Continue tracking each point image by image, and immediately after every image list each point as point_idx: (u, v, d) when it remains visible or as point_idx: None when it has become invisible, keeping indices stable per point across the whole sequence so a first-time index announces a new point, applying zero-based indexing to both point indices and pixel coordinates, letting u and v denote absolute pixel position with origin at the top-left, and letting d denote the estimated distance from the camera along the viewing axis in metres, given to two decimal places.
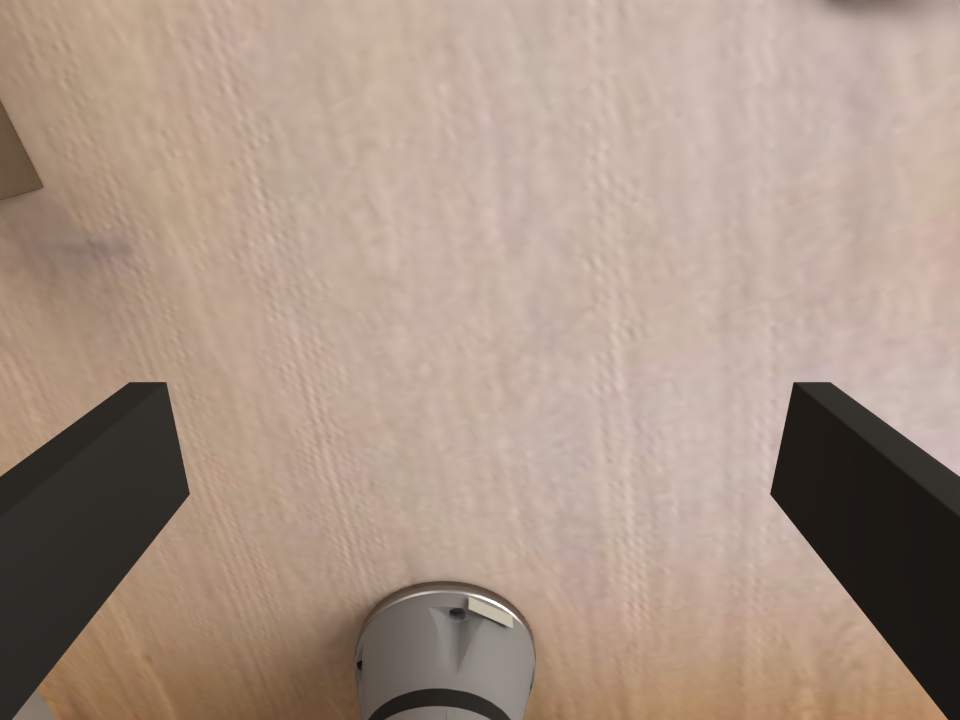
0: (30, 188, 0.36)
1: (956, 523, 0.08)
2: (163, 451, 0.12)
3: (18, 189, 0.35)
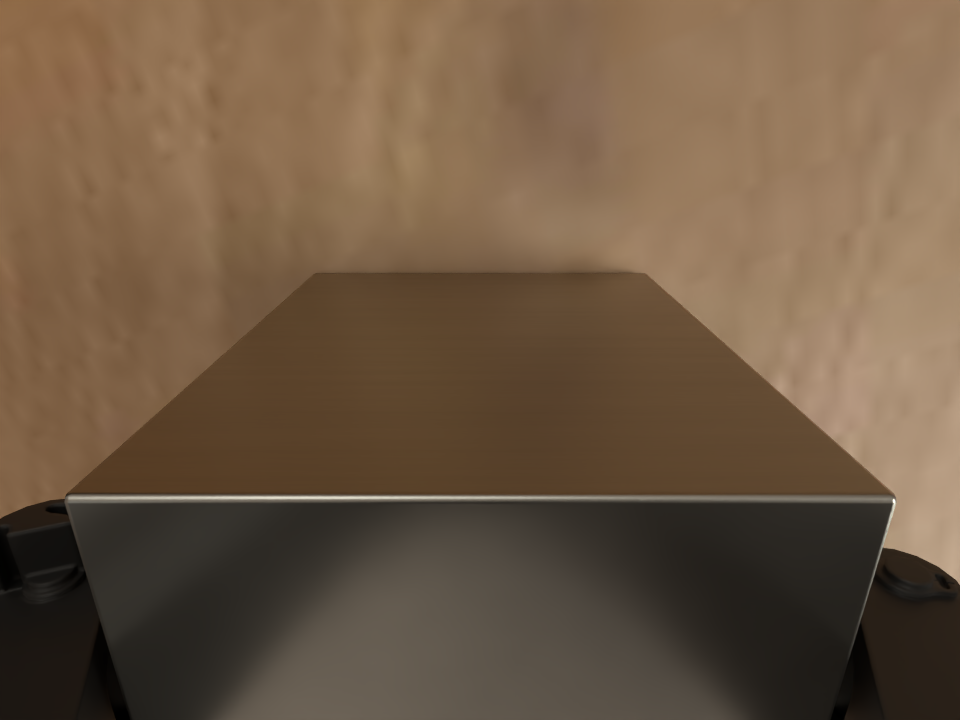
0: None
1: None
2: None
3: None
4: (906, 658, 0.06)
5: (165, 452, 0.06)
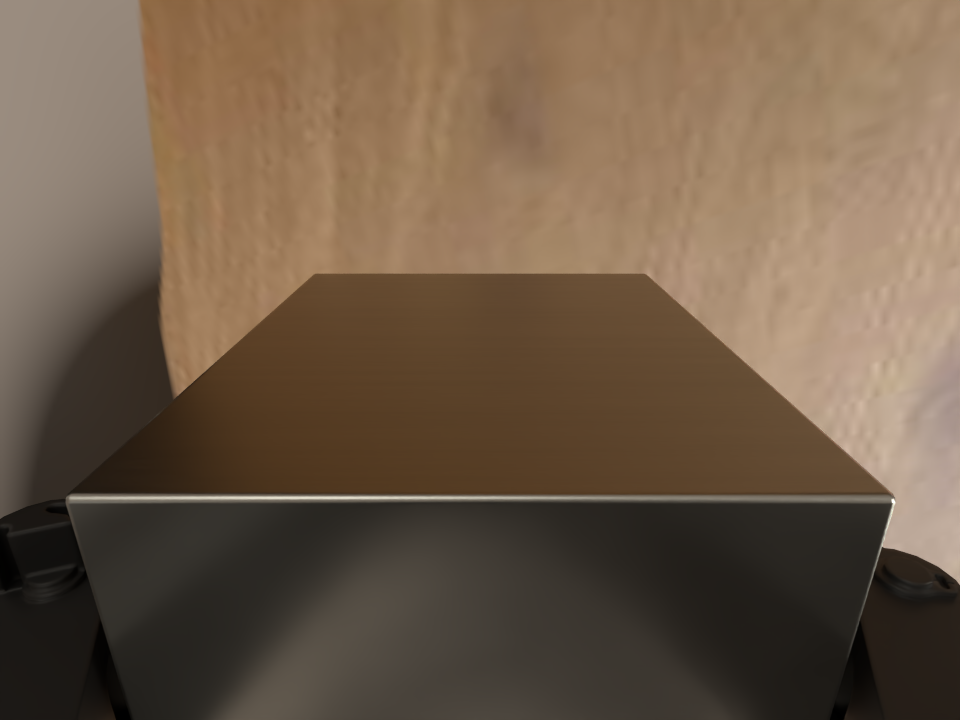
0: None
1: None
2: None
3: None
4: (905, 658, 0.06)
5: (166, 452, 0.06)
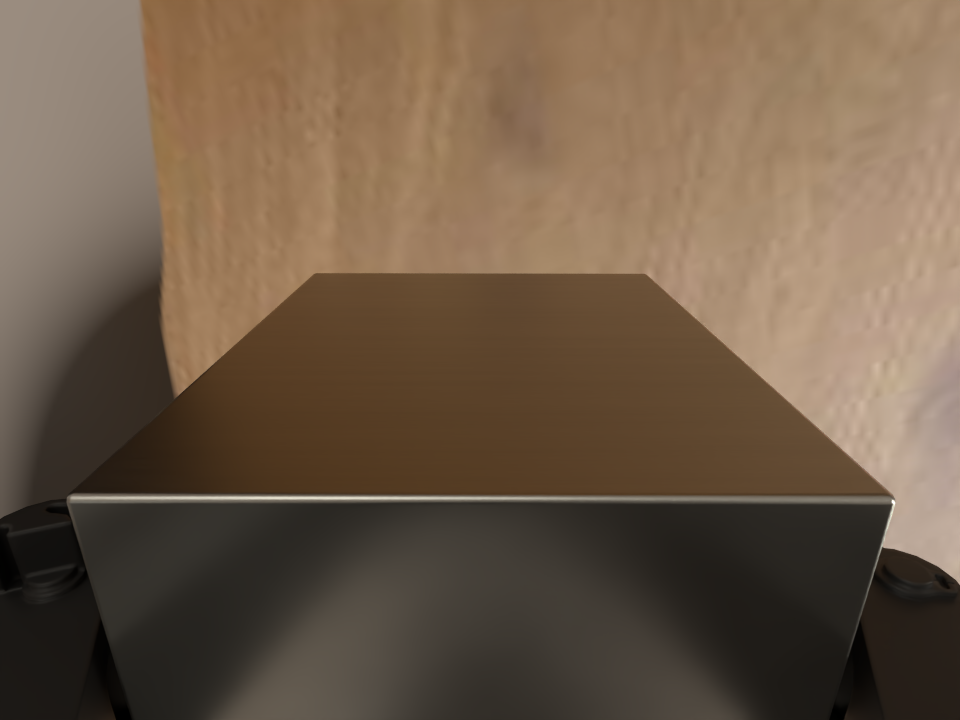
0: None
1: None
2: None
3: None
4: (906, 658, 0.06)
5: (166, 452, 0.06)
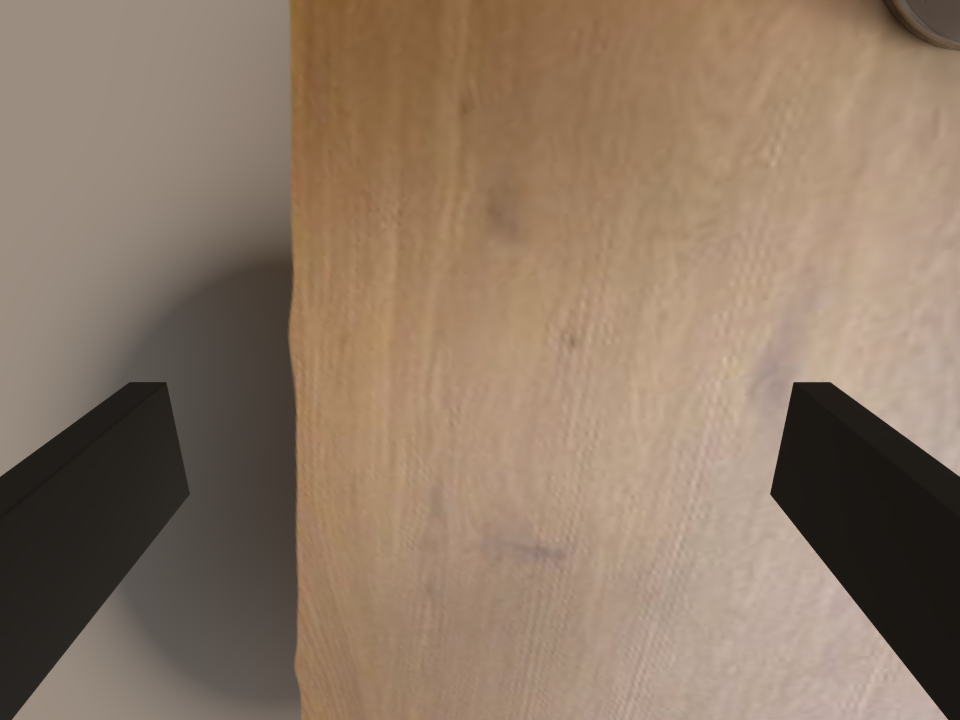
0: None
1: (955, 523, 0.08)
2: (163, 451, 0.12)
3: None
4: None
5: None
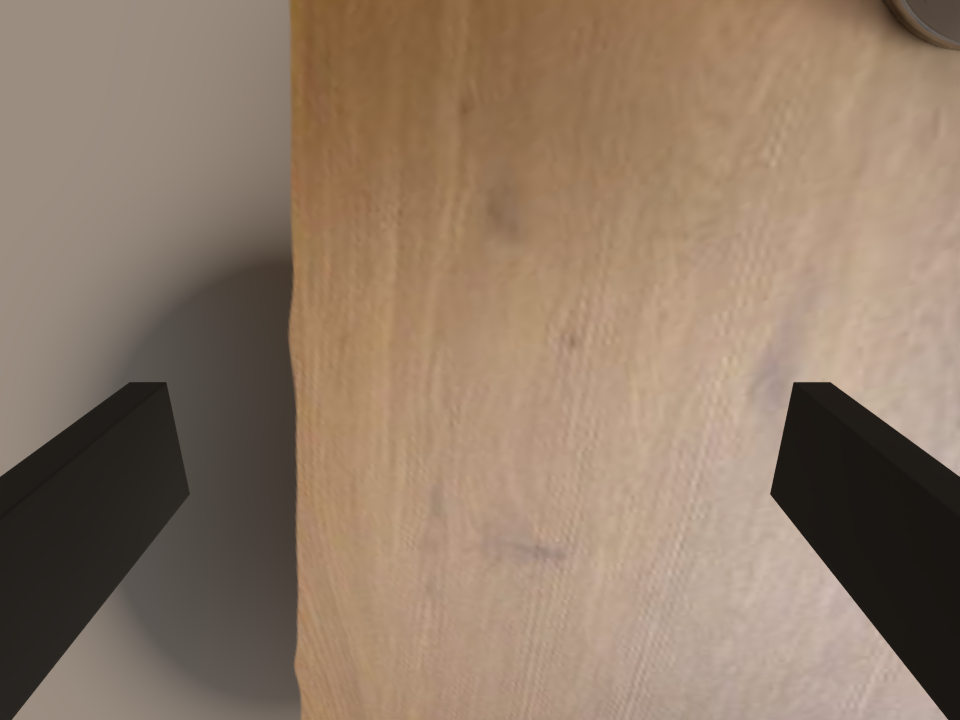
0: None
1: (955, 523, 0.08)
2: (163, 451, 0.12)
3: None
4: None
5: None
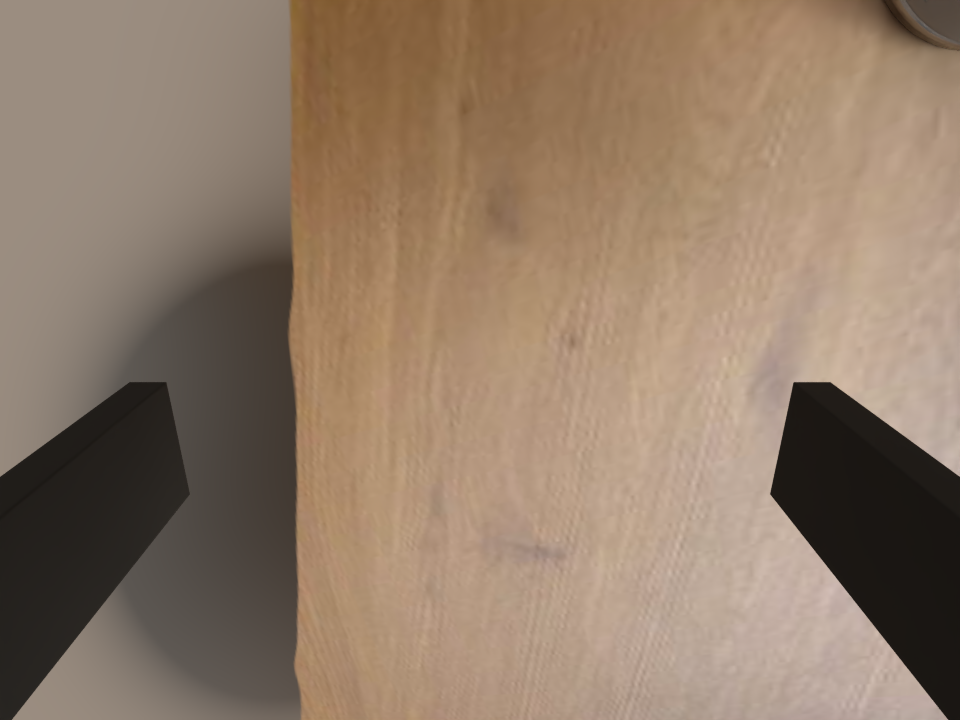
0: None
1: (955, 523, 0.08)
2: (163, 451, 0.12)
3: None
4: None
5: None
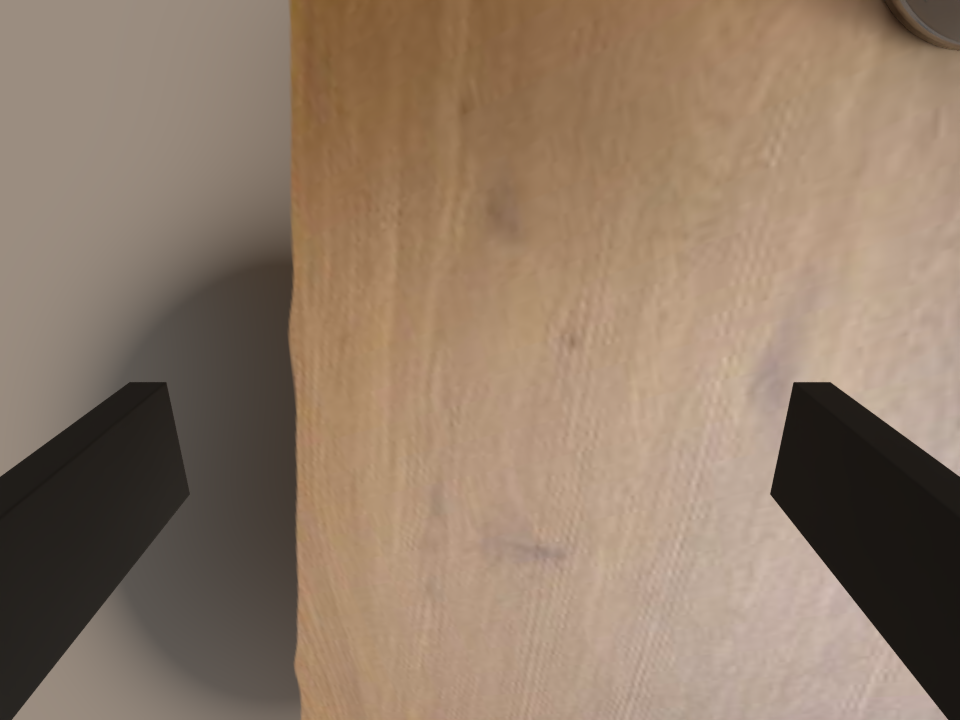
0: None
1: (955, 523, 0.08)
2: (163, 451, 0.12)
3: None
4: None
5: None
